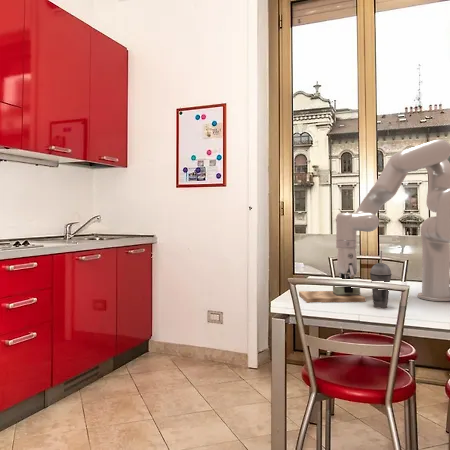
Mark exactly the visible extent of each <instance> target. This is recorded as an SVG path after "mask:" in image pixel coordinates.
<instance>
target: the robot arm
mask: <svg viewBox="0 0 450 450" xmlns="http://www.w3.org/2000/svg"><path fill="white" fill-rule="evenodd" d="M449 157H450V143H449V142H448V141H446V140H445V139H433V140H430V141H428V142H424V143H422V144H419V145H416V146H412V147H409V148H406V149H403V150H400V151H398V152H395V153H393V155H391V156H390V158H389V159H388V161H386V162H387V163H386V165H385V166H384V168H383V169H382V171H381V173H380V175H379V177H378V178H377V180H376V181H375V183H374V184H373V186H372V187H371V189H370V190H369V192H368V193H367V194H366V195H365V197H364V198H363V200H362V201H361V202H360V204H359V206H358V208H356V209H357V210H355V213H353V212H340V213H338V214H336V227H335V229H336V230H335V231H336V232H335V233H336V234H335V235H336V237H335V241H336V245H335V246H336V247H335V248H336V249H337V262H336V263H337V272H339V277H338V278H345V279H353V278H355V275H357V274H358V259H357V232H367V233H371V232H373V231H375V230H377V229H378V227H379V226H380V219H379V217H378V216H377V213H378V212H379V211H380V209H381V207H382V206H383V205H385V204H386V203H387V202H389V201H390V200H391V199H392V198H394V197H395V196H396V194H397V192H398V191H399V188H400V187H401V186H402V184H403V182H404V180H405V179H406V177H407V175H408V173H411V172H415V171H418V170H422V169H426V172H427V175H428V182H427V183H428V184H427V194H426V207H427V209H428V210H429V211H430V212H433V213H436V214H435V215H436V216H430V217H427V218H425V220H424V221H423V222H422V224H421V225H420V237H421V246H422V247H421V248H422V249H421V252H422V253H421V254H422V262H421V263H422V264H421V269H422V270H421V292H418V293H417V298H419V299H421V300H424V301H430V302H431V301H432V302H450V161H449ZM344 292H345V293H353V288H351V287H344Z"/></svg>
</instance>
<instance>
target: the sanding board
mask: <svg viewBox="0 0 450 450" xmlns="http://www.w3.org/2000/svg"><path fill="white" fill-rule="evenodd" d="M298 296H299V297H301V299H303V300H304V301H305V303H307V304H311V303H310V302H321V303H363V302H364V303H366V297H365V296H364V295H361V294H360V295H351V296H336V295H335V294H333V290H319V291H318V290H315V291H309V290H308V291H307V290H306V291H305V290H304V291H301V290H299V291H298Z"/></svg>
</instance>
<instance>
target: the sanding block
mask: <svg viewBox="0 0 450 450" xmlns="http://www.w3.org/2000/svg"><path fill="white" fill-rule="evenodd" d="M342 279H345V278H342ZM353 279H358V278H357V277H354V278H353ZM332 291H333V294H335V295H336V296H351V295H361V287H360V288H353V293H345V292H344V287H335V286H333V285H332Z"/></svg>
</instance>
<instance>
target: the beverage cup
mask: <svg viewBox="0 0 450 450" xmlns="http://www.w3.org/2000/svg"><path fill="white" fill-rule="evenodd" d="M379 255H380V257H379V258H380V259H379V260H380V262H376V263H375V264H374V265H373V266H372V267H371V268H370V272H369V275H370V280H371V282H372V281H384V282H390V283H391V280H392V271H391V270H392V269H391V268H390V266H389V265H387V264H386V263H384V262H383V251H382V250H380V254H379ZM371 291H372V303H373V307H374V308H376V309H377V308H378V309H387V308H388V302H389V294H390V290H389V291H388V290H378V289H372V288H371Z"/></svg>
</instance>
